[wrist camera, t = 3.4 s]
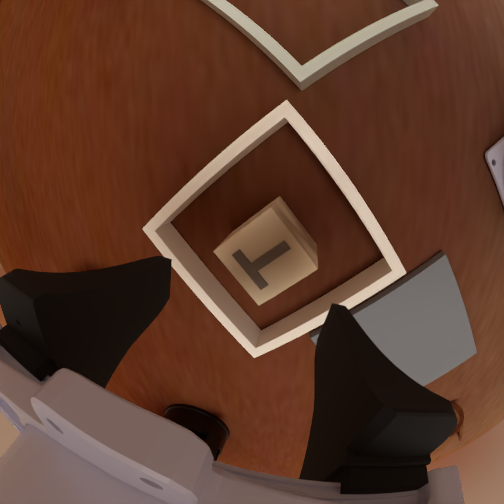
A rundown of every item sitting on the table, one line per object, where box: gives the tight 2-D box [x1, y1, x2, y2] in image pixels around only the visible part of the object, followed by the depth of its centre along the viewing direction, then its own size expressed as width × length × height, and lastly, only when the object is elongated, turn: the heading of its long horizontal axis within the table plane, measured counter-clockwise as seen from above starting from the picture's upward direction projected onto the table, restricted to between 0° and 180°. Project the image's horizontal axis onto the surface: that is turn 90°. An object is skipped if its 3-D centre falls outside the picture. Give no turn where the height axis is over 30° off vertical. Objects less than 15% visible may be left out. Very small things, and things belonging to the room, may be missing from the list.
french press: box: [164, 404, 229, 461], centre depth 21 cm, size 12×9×23 cm
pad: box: [310, 251, 477, 386], centre depth 21 cm, size 13×13×1 cm
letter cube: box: [213, 196, 318, 305], centre depth 18 cm, size 4×4×5 cm
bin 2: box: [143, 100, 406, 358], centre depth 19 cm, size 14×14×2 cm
